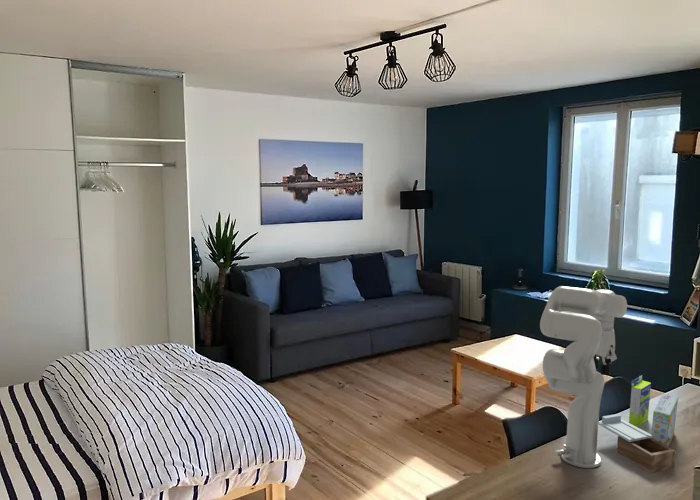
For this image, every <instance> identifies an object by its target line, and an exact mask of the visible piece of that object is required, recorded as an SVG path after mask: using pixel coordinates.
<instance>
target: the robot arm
mask: <svg viewBox="0 0 700 500" xmlns="http://www.w3.org/2000/svg"><path fill="white" fill-rule="evenodd" d="M627 310H628V301H627V299H626V297H625V296H623V295H619V294H616V293H615V292H614V291H613V290H610V289H609V290H608V289H596V290H595V289H591V288H590V289H589V288H583V287H574V286H564V285H559V286H558V287H556V288H555V289H553V291H552V293H551V294H550V296H549V297H548V300H547V302H546V305H545V306H544V310H543V312H542V314H541V318H540V320H539V321H540V322H539V328H540V332H541V334H543V335H544V336H545V337H549V338H551V339H553V338H554V339H558V340H563V341H564V340H565V341H571V343H569V345H567V346H566V347H565V348H564V349H558V348H552V349H548V350H547V351H546V352H545V354H544V356H543V359H542V372H543V375H544V377H545V381H546V382H547V385H548V387H549V388H550V390H552V391H554V392H558V393H562V394H566V395H567V394H568V395H571V396H575V397H576V398H575V399H573V400H572V401H571V402H570V404H569V405H568V409H567V424H566V441H565V442H566V443H565V444H563V446H562V448H561V449H556V450H554V451H553V454H554V456H555V457H560V458H561V459H562V460H563V461H564V462H566V463H568V464H569V465H571V466H574V467H579V468H583V469H592V468H593V469H594V468H596V467H599V466H600V465H601V464H602V458H601V456H600V455H599V454H598V453H597V451H598V435H599V434H598V431H599V424H598V423H599V422H600V406H601V401H602V396H603V391H604V387H605V378H604V376H606V375H609V374H610V364H612V362H614V361H616V360H617V359H618V358H617V354H616V353H615V351H616V334H615V329H614V327H615V326H614V324H615V318H623V317H624V316H625V315H626V313H627ZM598 356H599V357H601V359H602V360H601V361H602V363H601V365H600V372H599V371H598V370H597V369H598V368H599V367H598V366H599V358H598Z"/></svg>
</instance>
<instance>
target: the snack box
mask: <svg viewBox="0 0 700 500" xmlns="http://www.w3.org/2000/svg"><path fill="white" fill-rule="evenodd" d="M678 402H679V396H677V395H672V394H669V393H668V394H667V393H662V395H661V397H660V398H659V401H658V403H657V404H656V406H655V408H654V410H653V416H652V425H651V433H650V434H651V435H653V436H652V439H654V440H656V441H658V442H660V443H662V444H664V445H666V446H667V447H669V448H670V445H671V443H672V441H673V438H674V435H675V428H676V417H677V412H678V411H677V410H678Z"/></svg>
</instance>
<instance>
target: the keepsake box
mask: <svg viewBox="0 0 700 500" xmlns="http://www.w3.org/2000/svg"><path fill="white" fill-rule="evenodd" d="M616 445H617V446H616V454H618V455H619V456H621V457H623V458H625V459H626V460H628V461H630V462H631V463H633V464H635V465H637V467H639V468H641V469H643V470H645V471H646V472H648V473H650V474H652V473H657V472H663V471H665V470H670V469H674V468H675V460H676V450H675V449H673V448H671V447H670V446H669V447H667V446H666V445H664V444H662V443H660V442H658V441H656V440H654V439H652V438H648V439H643V440H637V441H632V442H629V441H627V440H625V439H623V438H621V437H620V436H618V435H617V443H616Z"/></svg>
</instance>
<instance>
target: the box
mask: <svg viewBox="0 0 700 500" xmlns="http://www.w3.org/2000/svg"><path fill="white" fill-rule="evenodd" d="M630 388H631V391H630V402H629V403H630V404H629V417H628V423H630V424H632V425H634V426H636V427H638V428H639V427H640V426H641V425H643V424H644V423H645V422H646V421H648V420H649V412H650V400H651V399H650V398H651V388H652V382H649V381H646V380H643V375H639V376H638V377H636V378H635V379H632V380H631V387H630Z"/></svg>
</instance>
